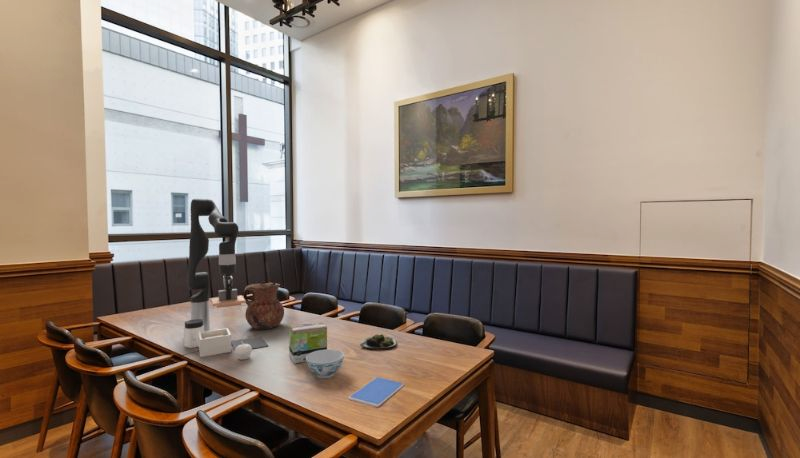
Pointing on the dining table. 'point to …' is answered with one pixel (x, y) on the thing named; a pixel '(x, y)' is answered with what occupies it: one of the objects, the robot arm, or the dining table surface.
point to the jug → (263, 306)
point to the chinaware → (325, 362)
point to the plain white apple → (243, 351)
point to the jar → (192, 332)
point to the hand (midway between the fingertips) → (228, 298)
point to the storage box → (214, 342)
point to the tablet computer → (376, 391)
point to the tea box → (306, 340)
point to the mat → (251, 342)
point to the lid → (224, 302)
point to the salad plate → (379, 343)
